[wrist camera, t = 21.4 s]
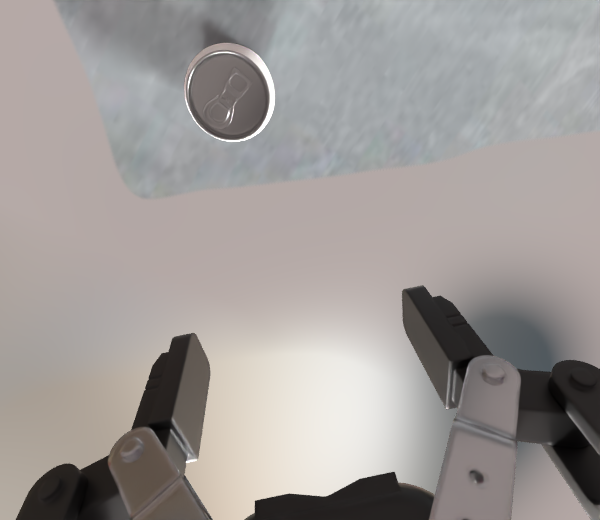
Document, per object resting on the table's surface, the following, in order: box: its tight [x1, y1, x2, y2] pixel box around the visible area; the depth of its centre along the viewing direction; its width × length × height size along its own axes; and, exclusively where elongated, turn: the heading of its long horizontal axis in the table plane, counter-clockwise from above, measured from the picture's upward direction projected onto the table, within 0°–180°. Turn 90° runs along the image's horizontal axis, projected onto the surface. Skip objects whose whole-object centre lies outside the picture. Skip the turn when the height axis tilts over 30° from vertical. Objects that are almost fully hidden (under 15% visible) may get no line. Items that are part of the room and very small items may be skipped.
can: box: [184, 43, 275, 142], centre depth 28 cm, size 6×6×12 cm
